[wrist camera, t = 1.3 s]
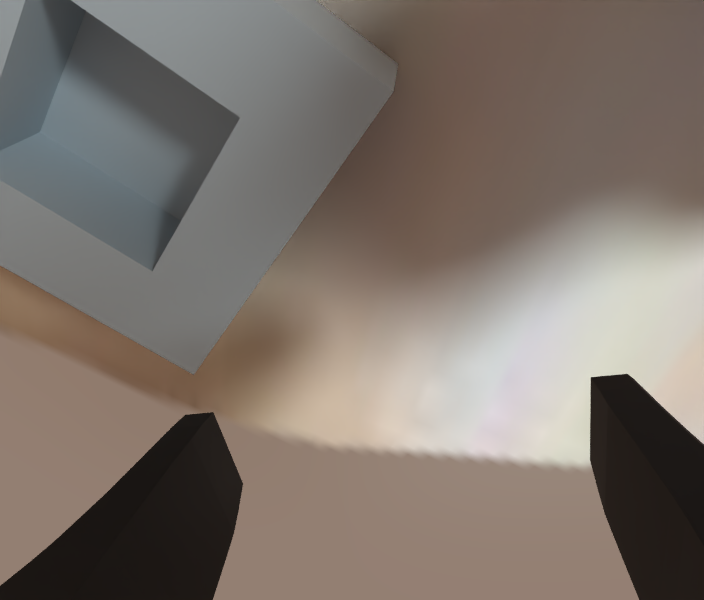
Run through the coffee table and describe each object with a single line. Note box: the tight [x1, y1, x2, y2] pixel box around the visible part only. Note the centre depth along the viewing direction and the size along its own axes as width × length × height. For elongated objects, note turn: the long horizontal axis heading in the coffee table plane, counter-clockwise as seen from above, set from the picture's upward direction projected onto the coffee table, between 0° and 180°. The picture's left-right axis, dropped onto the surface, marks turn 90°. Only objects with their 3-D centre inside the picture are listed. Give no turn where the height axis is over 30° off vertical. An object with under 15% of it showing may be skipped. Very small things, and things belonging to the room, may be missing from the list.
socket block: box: [0, 0, 398, 375], centre depth 15 cm, size 10×10×4 cm
